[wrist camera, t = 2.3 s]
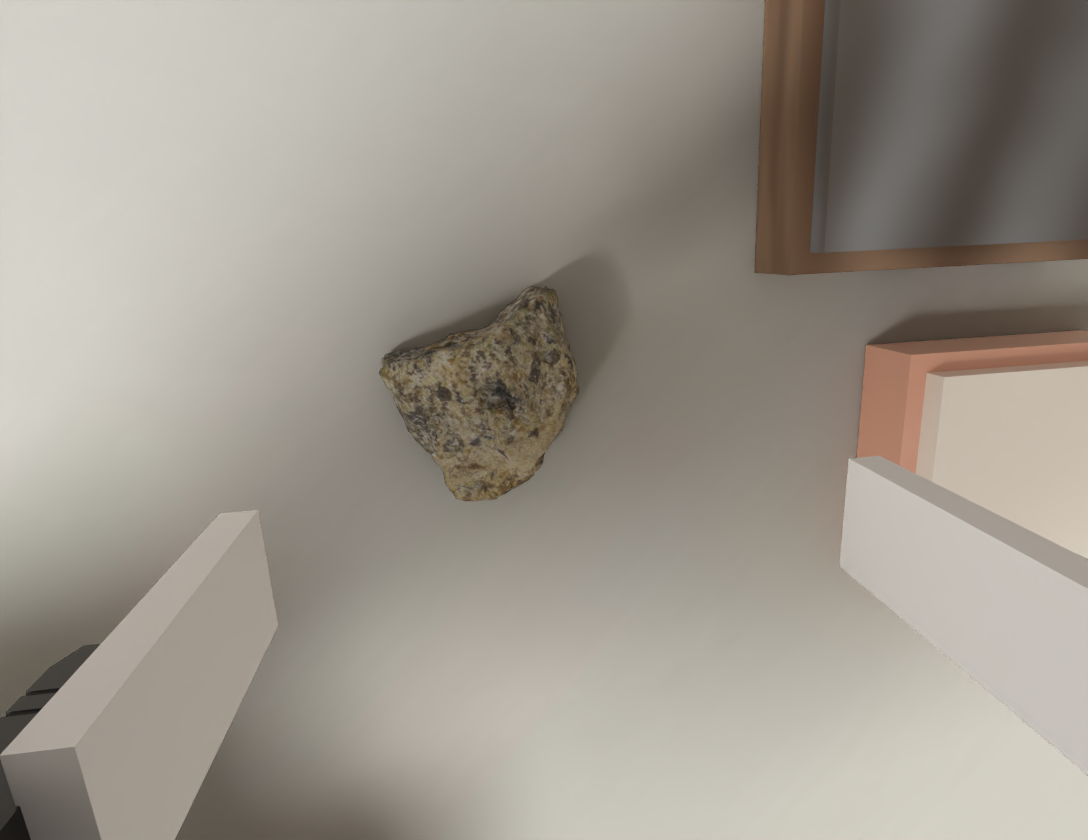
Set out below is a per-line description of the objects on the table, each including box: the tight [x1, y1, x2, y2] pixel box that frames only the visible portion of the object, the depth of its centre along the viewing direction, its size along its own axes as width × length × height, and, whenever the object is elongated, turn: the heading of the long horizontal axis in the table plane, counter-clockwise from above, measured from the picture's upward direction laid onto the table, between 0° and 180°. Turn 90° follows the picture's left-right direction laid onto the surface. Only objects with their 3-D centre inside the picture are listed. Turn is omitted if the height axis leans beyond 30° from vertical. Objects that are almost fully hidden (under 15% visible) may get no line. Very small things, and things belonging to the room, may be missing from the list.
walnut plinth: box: [755, 0, 1088, 275], centre depth 25 cm, size 14×14×4 cm
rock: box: [379, 286, 579, 501], centre depth 26 cm, size 7×8×4 cm
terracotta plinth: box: [857, 330, 1088, 559], centre depth 29 cm, size 11×11×4 cm
